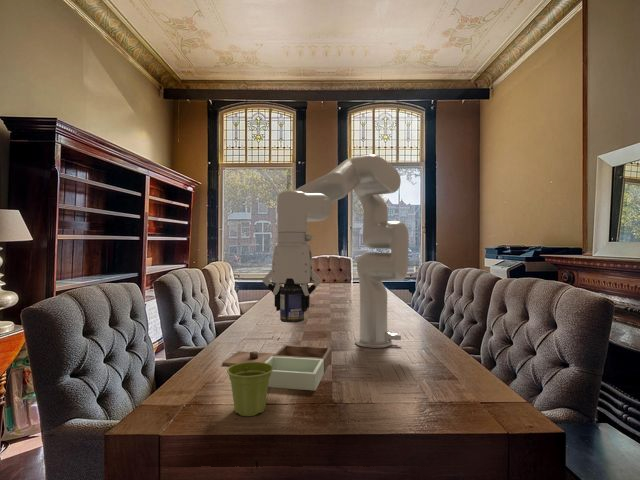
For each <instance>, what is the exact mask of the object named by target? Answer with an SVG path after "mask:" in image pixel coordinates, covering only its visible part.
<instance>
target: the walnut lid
mask: <svg viewBox="0 0 640 480" xmlns="http://www.w3.org/2000/svg"><path fill="white" fill-rule="evenodd" d="M276 353H277V352H274V353H273V352H260V351H259V352H258V351H254V350H253V351H242V350H241V351H240V350H239V351H236V352H235V353H234V354H232V355H231V356H230V357H228V358H226V360H223V362H222V363H221V365H222V366H224V367H225V366H226V367H230V366H232V365H235V364H239V363H244V362H263V363H265V362H266V361H267V360H268V359H269V358H270V357H271V356H273V355H275V354H276Z"/></svg>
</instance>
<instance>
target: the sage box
mask: <svg viewBox="0 0 640 480" xmlns="http://www.w3.org/2000/svg"><path fill="white" fill-rule="evenodd" d="M265 363H267V364H270V365H272V366H273V371H272V372H271V375H270V378H269V382H268V388H275V389H276V388H277V389H287V390H288V389H290V390H305V391H315V392H316V390H317V389H318V386H319V384H320V383H321V382H322V381H321V380H322V379H323V376H324V375H325V372H324V359H311V358H293V357H276V356H271V357H270V358H269V359H268V360H267V361H266V362H265Z"/></svg>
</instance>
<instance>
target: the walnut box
mask: <svg viewBox="0 0 640 480" xmlns="http://www.w3.org/2000/svg"><path fill="white" fill-rule="evenodd" d="M275 353H276V354H275V355H273V356H276V357H293V358H311V359H324V373H325V372H326V371H327V368H328V366H329V365H330V363H331V361H332V347H331V346H330V347H327V346H310V345H309V346H307V345H306V346H305V345H290V344H284V345H283V346H282V347H281V348H280V349H279V350H278V351H277V352H275Z"/></svg>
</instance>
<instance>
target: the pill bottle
mask: <svg viewBox="0 0 640 480" xmlns="http://www.w3.org/2000/svg"><path fill="white" fill-rule="evenodd" d="M302 296H304V292H303V290H302V287H301V285H296V284H294V280H293V279H292V278H287V279H286V282H285V284H283V287H282V288H281V289H280V310H279V318H280V319H279V320H280V321H281V322H283V323H287V324H288V323H290V324H296V323H300V322H303V321H304V320H305V312H303V311H302Z"/></svg>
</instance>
